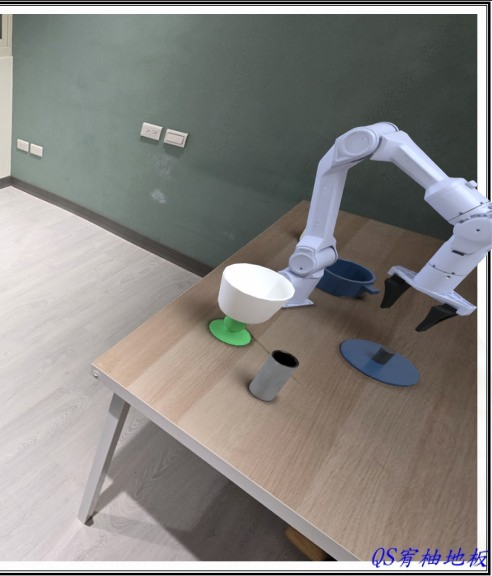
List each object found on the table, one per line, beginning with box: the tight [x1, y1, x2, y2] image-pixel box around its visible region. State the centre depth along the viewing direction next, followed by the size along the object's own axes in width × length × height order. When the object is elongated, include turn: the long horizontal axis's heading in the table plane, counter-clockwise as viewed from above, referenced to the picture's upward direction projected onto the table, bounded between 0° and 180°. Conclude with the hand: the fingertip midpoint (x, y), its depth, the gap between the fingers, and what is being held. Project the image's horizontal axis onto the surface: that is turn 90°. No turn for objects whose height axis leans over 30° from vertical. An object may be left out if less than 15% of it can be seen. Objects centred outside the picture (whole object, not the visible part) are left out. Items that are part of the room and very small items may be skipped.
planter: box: [248, 349, 300, 402], centre depth 74 cm, size 4×4×10 cm
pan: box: [315, 257, 381, 298], centre depth 105 cm, size 12×18×5 cm
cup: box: [208, 262, 295, 347], centre depth 86 cm, size 14×14×16 cm
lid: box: [339, 338, 420, 388], centre depth 82 cm, size 13×13×5 cm
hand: (401, 318), depth 82 cm, fingers open, 7 cm apart
